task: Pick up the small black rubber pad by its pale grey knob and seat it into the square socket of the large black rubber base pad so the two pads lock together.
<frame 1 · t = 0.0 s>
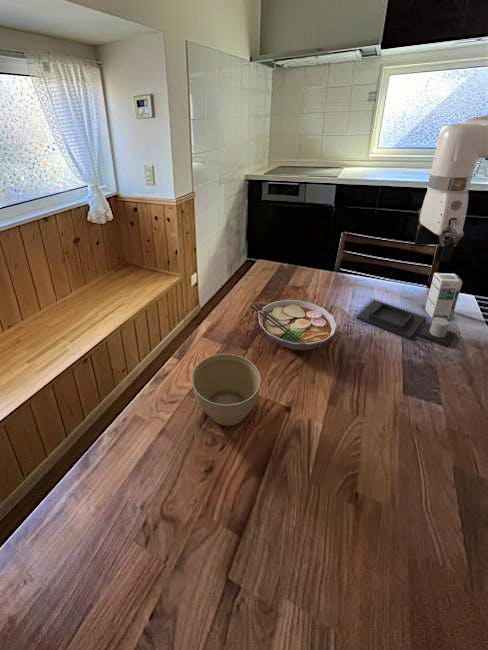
hand: (430, 252, 82), 33 cm above the table, tool pointing down, fingers open, 9 cm apart
ramen bowl: (294, 339, 106), on the table
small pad: (436, 336, 102), on the table
base pad: (390, 319, 111), on the table
syrup box: (437, 315, 112), on the table
planter bowl: (226, 410, 83), on the table
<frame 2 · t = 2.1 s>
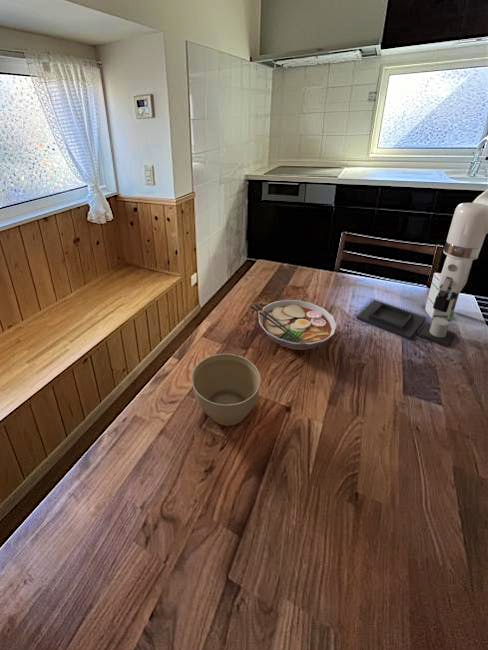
hand: (444, 303, 97), 12 cm above the table, tool pointing down, fingers open, 9 cm apart
nothing on the table moved.
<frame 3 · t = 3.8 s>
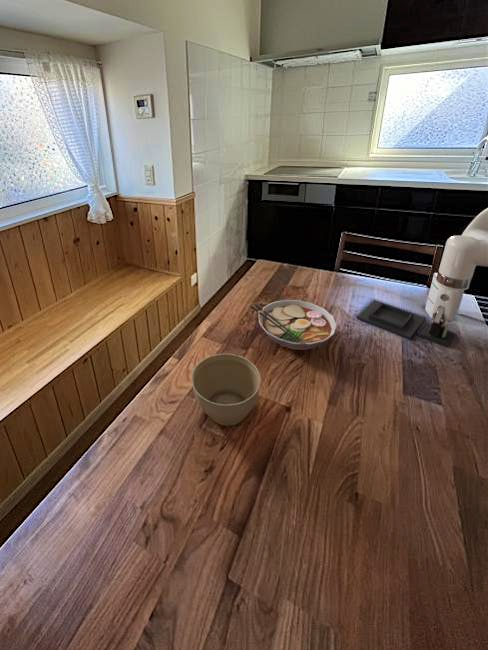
hand: (437, 331, 102), 2 cm above the table, tool pointing down, fingers closed on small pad, 4 cm apart
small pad: (436, 336, 102), on the table, touching gripper
everything else where it was.
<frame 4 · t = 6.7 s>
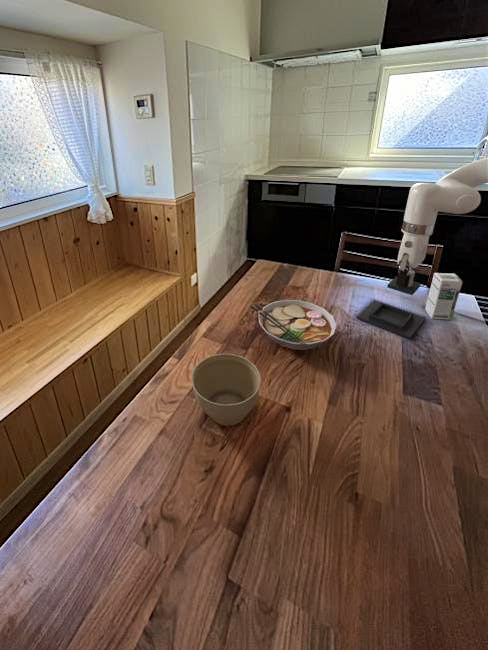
hand: (404, 282, 104), 15 cm above the table, tool pointing down, fingers closed on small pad, 4 cm apart
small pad: (403, 287, 105), point 13 cm above the table, touching gripper
everything else where it was.
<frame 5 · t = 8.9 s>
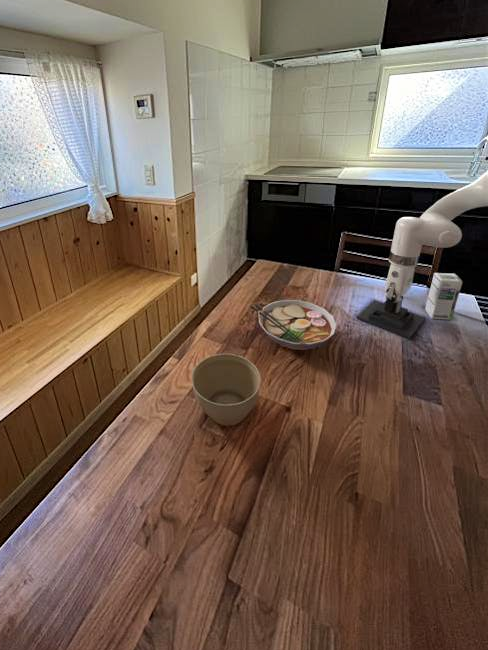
hand: (392, 307, 110), 5 cm above the table, tool pointing down, fingers closed on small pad, 4 cm apart
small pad: (391, 312, 110), point 3 cm above the table, touching gripper
everything else where it was.
when the fingers open (3 cm above the table, at t = 9.8 s): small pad stays where it is, resting on base pad.
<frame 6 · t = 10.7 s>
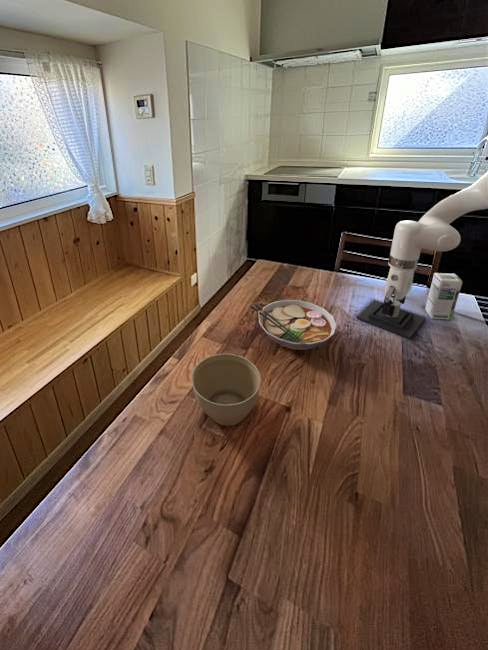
hand: (392, 308, 110), 4 cm above the table, tool pointing down, fingers open, 9 cm apart
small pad: (390, 316, 111), point 1 cm above the table, touching base pad
everything else where it was.
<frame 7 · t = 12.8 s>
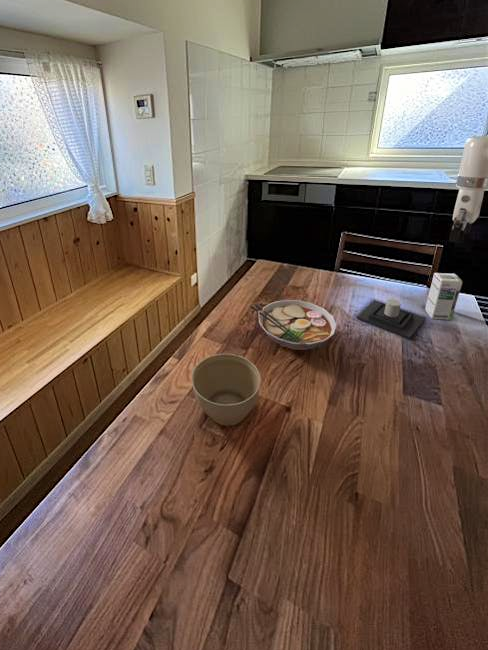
hand: (459, 237, 103), 27 cm above the table, tool pointing down, fingers open, 9 cm apart
nothing on the table moved.
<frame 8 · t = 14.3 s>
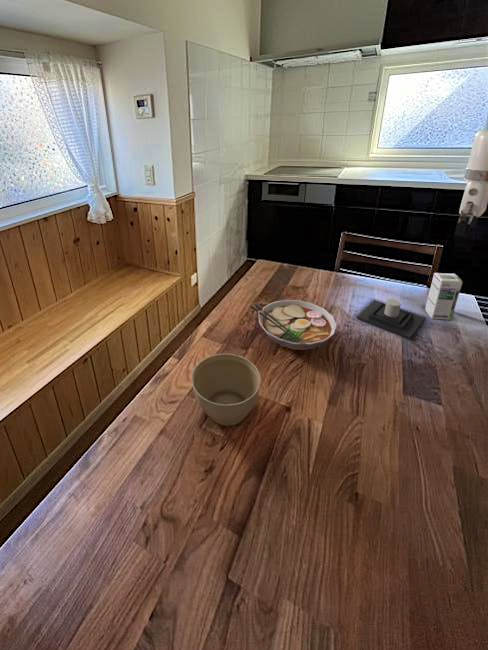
hand: (465, 231, 103), 28 cm above the table, tool pointing down, fingers open, 9 cm apart
nothing on the table moved.
at the end: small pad 0.1 cm off-centre on the base pad, point 1.0 cm above the base pad's base; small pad tilted 0°; the gripper is holding nothing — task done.
